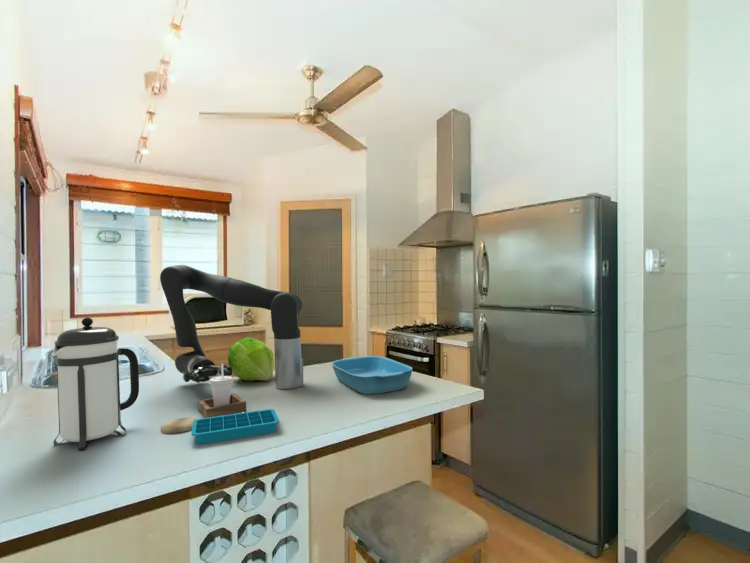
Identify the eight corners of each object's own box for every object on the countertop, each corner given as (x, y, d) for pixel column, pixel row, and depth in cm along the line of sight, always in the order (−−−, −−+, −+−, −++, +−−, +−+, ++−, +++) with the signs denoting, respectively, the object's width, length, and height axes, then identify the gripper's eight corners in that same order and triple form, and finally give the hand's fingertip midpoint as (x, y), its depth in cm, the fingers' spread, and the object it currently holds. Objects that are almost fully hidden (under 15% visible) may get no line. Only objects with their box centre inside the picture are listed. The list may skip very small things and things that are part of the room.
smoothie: (225, 415, 115) (224, 366, 115) (205, 414, 116) (203, 365, 116) (237, 408, 121) (236, 361, 121) (218, 407, 123) (216, 361, 123)
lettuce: (242, 392, 144) (269, 356, 145) (209, 359, 152) (234, 325, 154) (268, 395, 159) (292, 362, 161) (237, 365, 168) (260, 334, 169)
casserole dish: (324, 377, 158) (324, 358, 158) (376, 370, 168) (376, 352, 168) (361, 402, 125) (361, 379, 125) (424, 391, 134) (423, 370, 134)
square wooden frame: (198, 410, 120) (197, 400, 120) (235, 403, 126) (234, 393, 126) (207, 420, 111) (206, 409, 111) (246, 412, 118) (246, 401, 118)
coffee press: (121, 446, 95) (116, 318, 95) (39, 456, 91) (35, 322, 91) (140, 421, 112) (137, 312, 112) (72, 429, 108) (68, 315, 107)
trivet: (198, 418, 113) (198, 415, 113) (199, 429, 105) (199, 425, 105) (161, 424, 109) (161, 421, 109) (160, 436, 101) (160, 432, 101)
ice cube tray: (193, 431, 105) (193, 419, 105) (274, 419, 112) (273, 408, 112) (191, 448, 94) (190, 435, 94) (280, 433, 101) (280, 421, 101)
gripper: (177, 360, 135) (187, 368, 122) (222, 354, 143) (236, 361, 130) (178, 383, 135) (188, 393, 122) (223, 376, 143) (237, 385, 130)
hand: (213, 376), depth 126 cm, fingers open, 8 cm apart
